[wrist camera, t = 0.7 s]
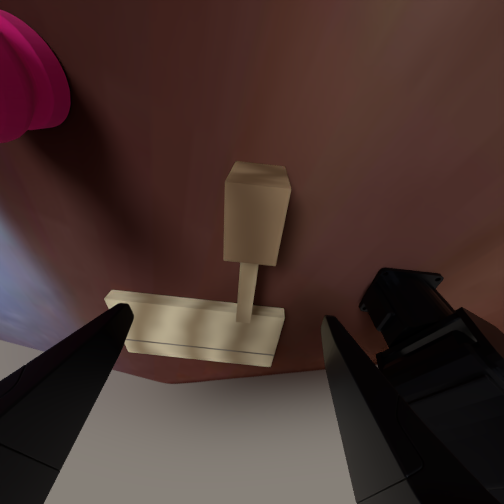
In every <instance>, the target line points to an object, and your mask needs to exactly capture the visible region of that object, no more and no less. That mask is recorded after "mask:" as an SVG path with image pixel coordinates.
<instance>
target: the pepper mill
mask: <svg viewBox="0 0 504 504" xmlns="http://www.w3.org/2000/svg"><path fill="white" fill-rule="evenodd" d="M70 105H71V102H70V89H69V85H68V82H67V79H66V76H65V73H64V71H63V69H62V67H61V65H60V63H59V61H58V59H57V58H56V56H55V55H54V54H53V52H52V51H51V49H50V48H49V46H48V45H47V44H46V42H45V41H44V40H43V39H42V38H41V37H40V36H39V35H38V34H37V33H36V32H35V31H34V30H33V29H32V28H30V27H29V26H28V25H27V24H26V23H24V22H23V21H22V20H20V19H18V18H17V17H15V16H13V15H12V14H10V13H7V12H5V11H3V10H0V143H5V142H9V141H12V140H14V139H17V138H19V137H20V136H21V135H23V134H24V133H25V132H26V130H35V129H44V128H52V127H56V126H58V125H60V124H61V123H62V122H64V120H65V119H66V118H67V116H68V113H69V110H70Z"/></svg>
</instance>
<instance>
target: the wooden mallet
mask: <svg viewBox="0 0 504 504" xmlns="http://www.w3.org/2000/svg"><path fill="white" fill-rule="evenodd" d="M290 193H291V186H290V183H289V179H288V176H287V172H286V168H285V166H276V165H267V164H258V163H249V162H241V161H236V162H235V164H234V166H233V168H232V169H231V171H230V173H229V175H228V177H227V179H226V181H225V209H224V261H233V262H240V275H239V287H238V300H237V313H236V322H241V323H250V321H251V314H252V307H253V300H254V293H255V286H256V279H257V272H258V265H259V264H260V265H270V266H276V262H277V257H278V252H279V247H280V242H281V237H282V232H283V227H284V222H285V218H286V213H287V208H288V203H289V198H290Z"/></svg>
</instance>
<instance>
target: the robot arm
mask: <svg viewBox="0 0 504 504" xmlns="http://www.w3.org/2000/svg"><path fill="white" fill-rule="evenodd" d="M385 272H386V273H385ZM442 280H443V277H442V276H441V275H440V274H438V273H429V272H420V271H411V270H402V269H393V268H382V269H381V270H380V271H379V272H378V274H377V276H376V278H375V279H374V281H373V283H372V284H371V286H370V288H369V289H368V291H367V293H366V295H365V296H364V298H363V300H362V302H361V303H360V305H359V308H360V310H361V311H366V312H368V313H369V315H370V317H371V319H372V321H373V323H374V325H375V327H376V329H377V330H378V331H381V333H382V335H383V337H384V339H385V341H386V343H387V345H388V347H389V349H387V350H385V351H383V352H379V353H378V354H376V358H377V364H378V368H377V367H376V365H375V364H374V363H373V362H372V360H371V359H370V358H369V357H368V356H367V354H366V353H365V352H364V351H363V350H362V348H361V347H360V346H359V345H358V344H357V342H356V341H355V340H354V339H353V338H352V336H351V335H350V334H349V333H348V331H347V330H346V329H345V328H344V327H343V325H342V324H341V323H340V322H339V321H338V319H337V318H336V317H335V316H331V315H325V316H324V319H323V322H322V325H321V337H322V345H323V354H324V362H325V368H326V373H327V378H328V382H329V386H330V391H331V395H332V399H333V404H334V407H335V412H336V417H337V421H338V425H339V430H340V434H341V438H342V442H343V447H344V452H345V456H346V460H347V465H348V469H349V473H350V478H351V482H352V486H353V491H354V495H355V500H356V503H357V504H504V334H503V333H502V332H501V331H500V330H499V329H498V328H497V327H495V326H494V325H492V324H490V323H489V322H487V321H485V320H484V319H482V318H480V317H478V316H477V315H475V314H473V313H472V312H470V311H468V310H466V309H465V308H463V307H461V308H459V309H457V310H454V309H453V308H452V307H451V306H450V305H449V303H448V302H447V301H446V300H445V299H444V298H443V297H442V296H441V295H440V293H439V292H438V291H437V290H436V288H437V286H438V285H439V284H440V283H441V282H442ZM133 320H134V314H133V311H132V309H131V307H130V305H129V304H127V303H118V304H116V305H115V306H113V307H112V308H110V309H109V310H107V311H106V312H104V313H103V314H101V315H100V316H98V317H97V318H95V319H94V320H92V321H91V322H89V323H88V324H86V325H85V326H83V327H82V328H80V329H78V330H77V331H75V332H74V333H72V334H71V335H69V336H68V337H66V338H65V339H63V340H62V341H60V342H59V343H57V344H56V345H54V346H53V347H51V348H50V349H48V350H47V351H45V352H44V353H42V354H41V355H39V356H38V357H36V358H35V359H33V360H32V361H30V362H29V363H27V364H26V365H24V366H22V367H21V368H20V369H18V370H16V371H15V372H13V373H12V374H10V375H9V376H8V377H6V378H4V379H2V380H1V381H0V504H44V502H45V500H46V498H47V496H48V494H49V492H50V490H51V488H52V486H53V484H54V482H55V480H56V478H57V476H58V474H59V472H60V470H61V468H62V466H63V464H64V462H65V460H66V458H67V456H68V455H69V453H70V451H71V449H72V447H73V445H74V443H75V441H76V439H77V437H78V435H79V433H80V431H81V429H82V427H83V425H84V423H85V421H86V419H87V417H88V415H89V413H90V411H91V409H92V407H93V406H94V403H95V402H96V400H97V398H98V396H99V394H100V392H101V390H102V388H103V386H104V384H105V382H106V380H107V378H108V376H109V374H110V372H111V370H112V368H113V366H114V364H115V362H116V360H117V359H118V357H119V354H120V352H121V350H122V348H123V346H124V343H125V340H126V338H127V335H128V333H129V330H130V328H131V325H132V323H133Z"/></svg>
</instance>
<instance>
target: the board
mask: <svg viewBox="0 0 504 504" xmlns="http://www.w3.org/2000/svg"><path fill="white" fill-rule="evenodd" d="M104 299H105V301H106V304H107V306H108V308H109V309H110V308H112V307H113V306H115V305H116V304H118V303H127V304H129V305H130V307H131V309H132V311H133V314H134V320H133V323H132V325H131V328H130V330H129V333H128V335H127V338H126V340H125V345H126V348H127V350H128V352H134V353H143V354H152V355H162V356H171V357H180V358H190V359H199V360H208V361H218V362H227V363H236V364H246V365H255V366H265V367H271V364H272V360H273V357H274V354H275V350H276V347H277V343H278V340H279V336H280V333H281V329H282V326H283V323H284V319H285V315H284V308H275V307H266V306H256V305H253V307H252V314H251V321H250V323H241V322H236V313H237V303H229V302H220V301H210V300H201V299H192V298H183V297H174V296H164V295H155V294H146V293H137V292H128V291H118V290H111V291H110V292H109V294H108V295H107V296H106V297H105V298H104Z"/></svg>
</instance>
